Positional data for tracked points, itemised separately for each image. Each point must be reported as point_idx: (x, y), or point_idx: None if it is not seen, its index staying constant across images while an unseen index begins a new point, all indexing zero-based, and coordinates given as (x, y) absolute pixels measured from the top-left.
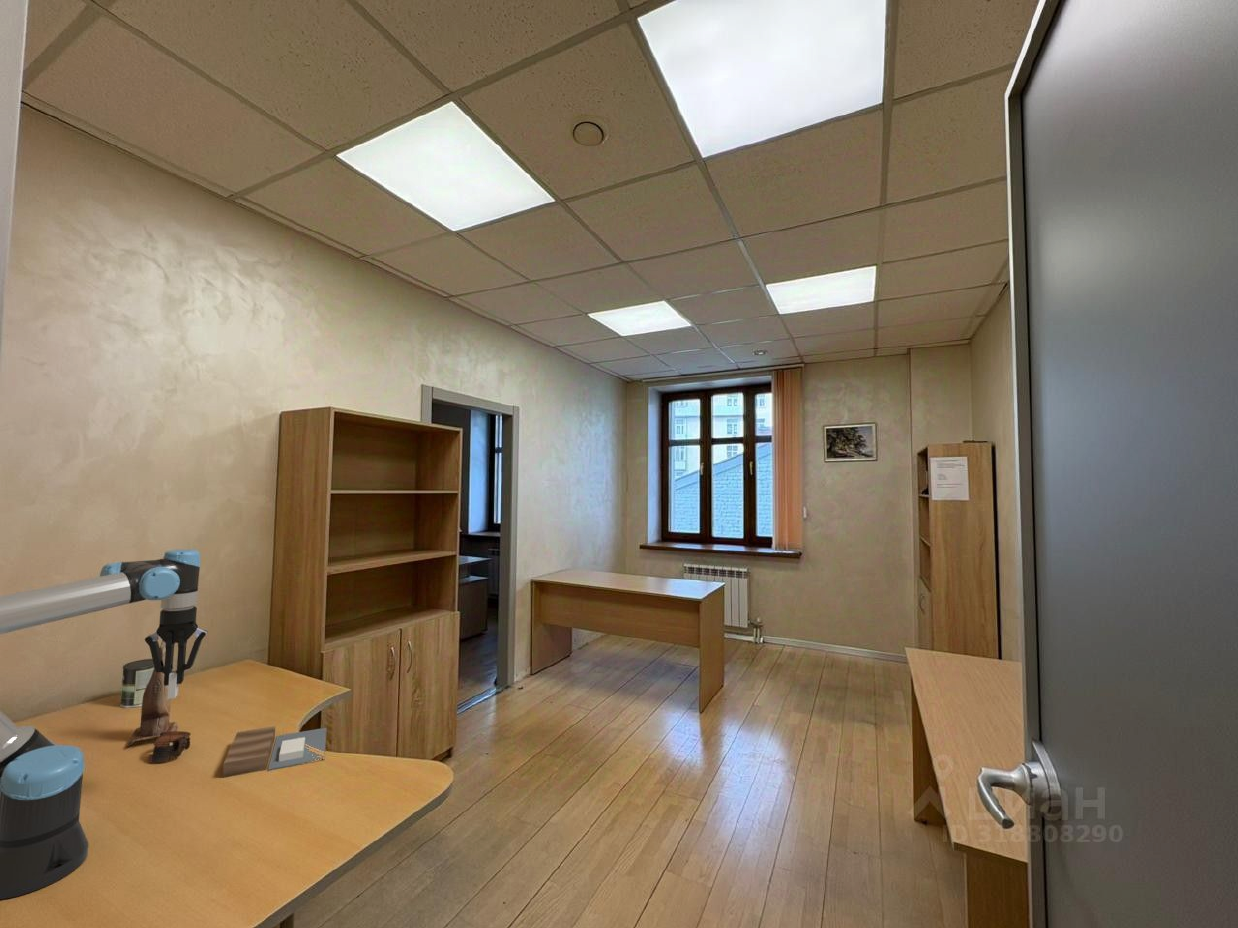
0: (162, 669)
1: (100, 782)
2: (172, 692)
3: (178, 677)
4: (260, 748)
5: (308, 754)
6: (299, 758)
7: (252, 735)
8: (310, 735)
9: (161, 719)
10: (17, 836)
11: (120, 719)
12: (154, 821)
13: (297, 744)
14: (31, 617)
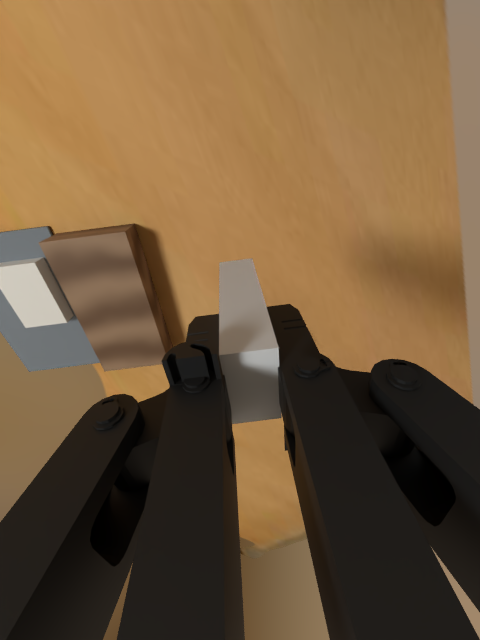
0: (361, 394)
1: (348, 274)
2: (232, 274)
3: (211, 344)
4: (77, 282)
5: None
6: (2, 258)
7: (130, 343)
8: (43, 349)
9: None
10: None
11: None
12: (191, 38)
13: (21, 299)
14: None
